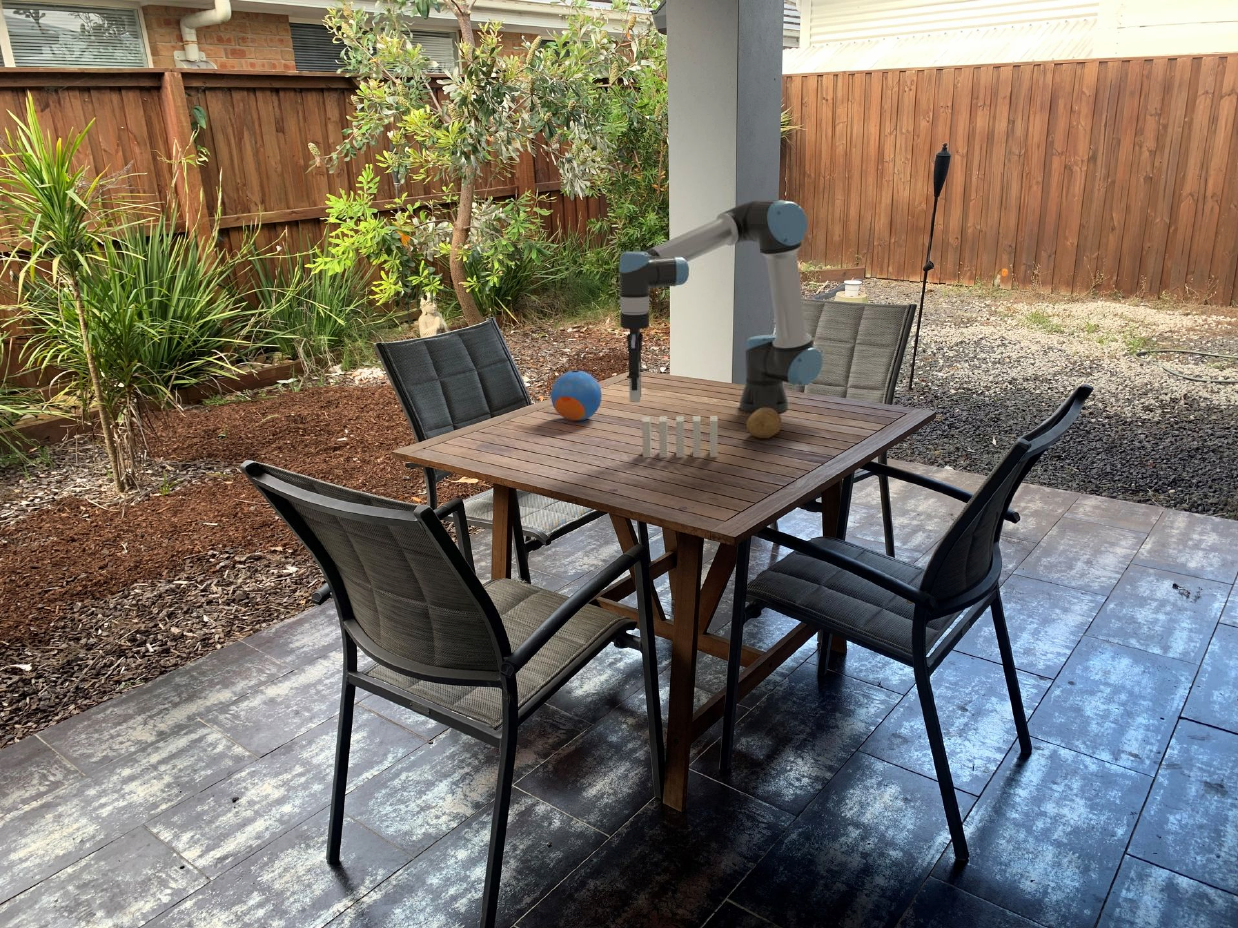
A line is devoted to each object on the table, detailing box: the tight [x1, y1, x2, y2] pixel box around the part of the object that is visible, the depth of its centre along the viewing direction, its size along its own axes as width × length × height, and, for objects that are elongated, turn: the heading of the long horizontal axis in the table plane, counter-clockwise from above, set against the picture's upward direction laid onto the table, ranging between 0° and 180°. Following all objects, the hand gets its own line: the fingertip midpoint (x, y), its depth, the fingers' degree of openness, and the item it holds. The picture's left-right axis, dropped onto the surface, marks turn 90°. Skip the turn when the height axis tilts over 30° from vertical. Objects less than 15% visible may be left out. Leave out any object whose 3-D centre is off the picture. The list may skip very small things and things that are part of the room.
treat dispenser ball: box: [550, 369, 603, 422], centre depth 280 cm, size 16×15×15 cm
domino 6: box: [709, 415, 719, 458], centre depth 244 cm, size 2×5×10 cm, turn 175°
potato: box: [745, 408, 782, 439], centre depth 258 cm, size 10×14×8 cm
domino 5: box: [692, 415, 702, 458], centre depth 244 cm, size 2×5×10 cm, turn 175°
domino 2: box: [641, 416, 652, 458], centre depth 246 cm, size 2×5×10 cm, turn 175°
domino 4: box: [675, 415, 685, 458], centre depth 245 cm, size 2×5×10 cm, turn 175°
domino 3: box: [658, 415, 669, 458], centre depth 245 cm, size 2×5×10 cm, turn 175°
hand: (635, 398), depth 245 cm, fingers closed on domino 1, 5 cm apart
